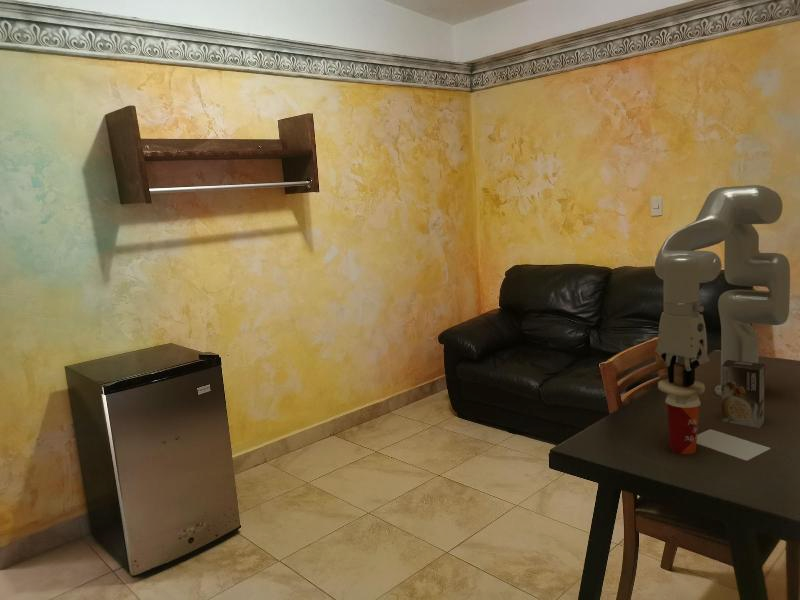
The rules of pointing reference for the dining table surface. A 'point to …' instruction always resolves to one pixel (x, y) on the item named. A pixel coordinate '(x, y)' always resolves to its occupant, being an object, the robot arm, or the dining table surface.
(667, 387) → the lid
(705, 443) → the mat
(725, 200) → the robot arm
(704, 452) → the dining table surface
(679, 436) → the paper cup
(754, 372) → the coffee box
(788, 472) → the dining table surface
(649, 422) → the dining table surface
